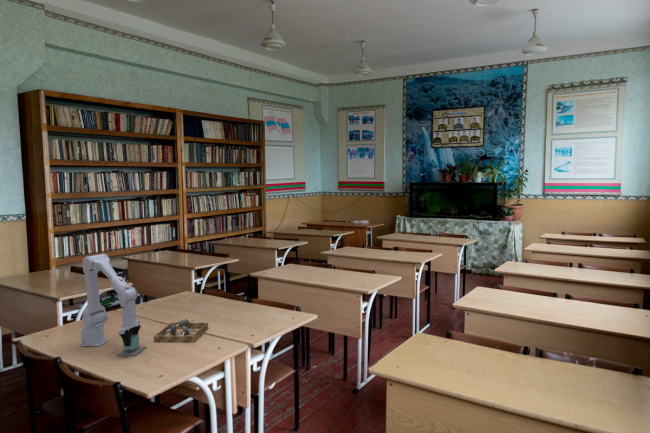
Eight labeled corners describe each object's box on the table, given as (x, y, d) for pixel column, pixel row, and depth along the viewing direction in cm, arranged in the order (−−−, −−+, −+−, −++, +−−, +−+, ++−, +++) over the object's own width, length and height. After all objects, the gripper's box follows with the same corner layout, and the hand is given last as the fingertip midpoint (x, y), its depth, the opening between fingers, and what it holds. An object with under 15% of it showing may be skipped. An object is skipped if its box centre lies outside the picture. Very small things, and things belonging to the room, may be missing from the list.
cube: (123, 349, 197) (122, 338, 196) (129, 345, 202) (128, 334, 201) (133, 349, 196) (133, 338, 196) (139, 345, 201) (138, 334, 201)
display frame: (154, 342, 211) (153, 336, 211) (171, 327, 231) (171, 322, 230) (194, 342, 209) (193, 336, 209) (208, 328, 229) (208, 322, 229)
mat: (116, 355, 195) (116, 354, 195) (127, 348, 204) (127, 346, 204) (135, 356, 194) (135, 354, 194) (145, 348, 203) (145, 346, 203)
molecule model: (172, 348, 222) (174, 341, 213) (163, 333, 224) (164, 326, 215) (198, 331, 230) (200, 324, 222) (189, 318, 232) (191, 310, 224)
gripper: (129, 320, 190) (131, 350, 191) (145, 310, 205) (146, 338, 206) (113, 320, 191) (115, 350, 192) (130, 310, 205) (132, 337, 206)
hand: (130, 343), depth 199 cm, fingers closed on cube, 5 cm apart
